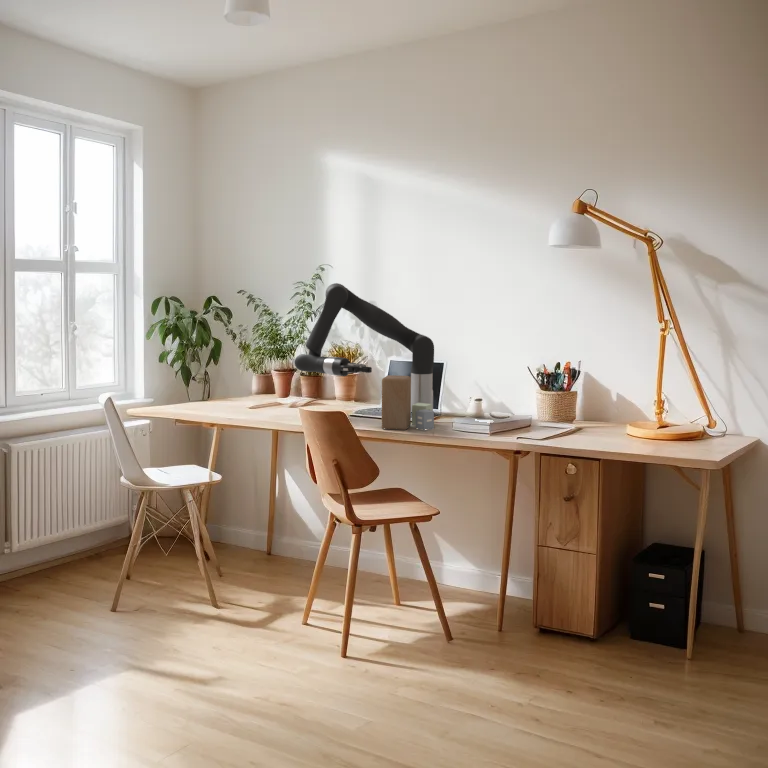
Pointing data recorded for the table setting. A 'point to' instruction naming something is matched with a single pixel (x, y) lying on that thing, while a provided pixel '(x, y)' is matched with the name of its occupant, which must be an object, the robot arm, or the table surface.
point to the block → (396, 402)
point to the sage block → (419, 407)
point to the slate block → (425, 419)
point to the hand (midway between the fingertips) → (370, 369)
